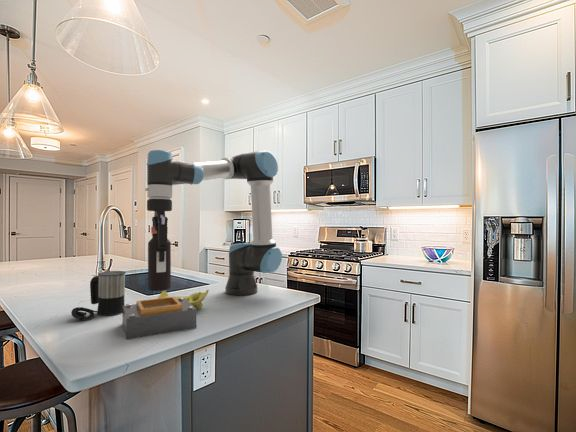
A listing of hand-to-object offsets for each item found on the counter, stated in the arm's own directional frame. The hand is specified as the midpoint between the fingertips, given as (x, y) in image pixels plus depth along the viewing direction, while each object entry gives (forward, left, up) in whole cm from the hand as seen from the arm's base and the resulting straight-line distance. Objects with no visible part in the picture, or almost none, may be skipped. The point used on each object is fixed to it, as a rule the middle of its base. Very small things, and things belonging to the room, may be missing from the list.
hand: (159, 270), depth 104 cm
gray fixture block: (0, -1, -18) cm, 18 cm away
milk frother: (+16, -24, -18) cm, 34 cm away
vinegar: (0, 0, -6) cm, 6 cm away
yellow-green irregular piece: (-12, -19, -18) cm, 29 cm away
